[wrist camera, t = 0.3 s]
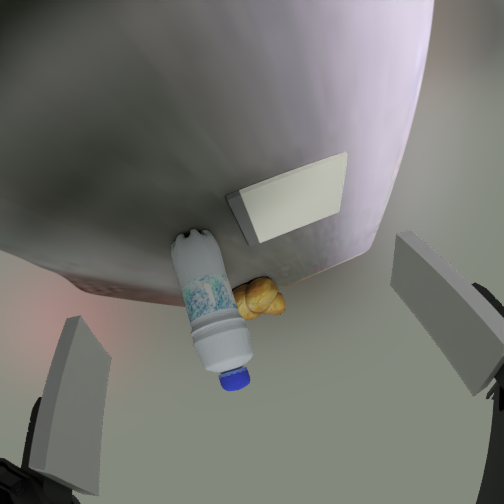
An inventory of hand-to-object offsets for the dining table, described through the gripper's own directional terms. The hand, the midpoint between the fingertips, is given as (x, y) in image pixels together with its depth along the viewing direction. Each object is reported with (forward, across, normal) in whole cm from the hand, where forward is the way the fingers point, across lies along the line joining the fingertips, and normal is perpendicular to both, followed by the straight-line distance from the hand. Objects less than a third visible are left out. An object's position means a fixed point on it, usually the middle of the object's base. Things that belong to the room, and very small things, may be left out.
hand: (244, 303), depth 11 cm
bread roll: (+42, +1, -33) cm, 53 cm away
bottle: (+26, -5, -10) cm, 29 cm away
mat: (+27, +9, -9) cm, 30 cm away
